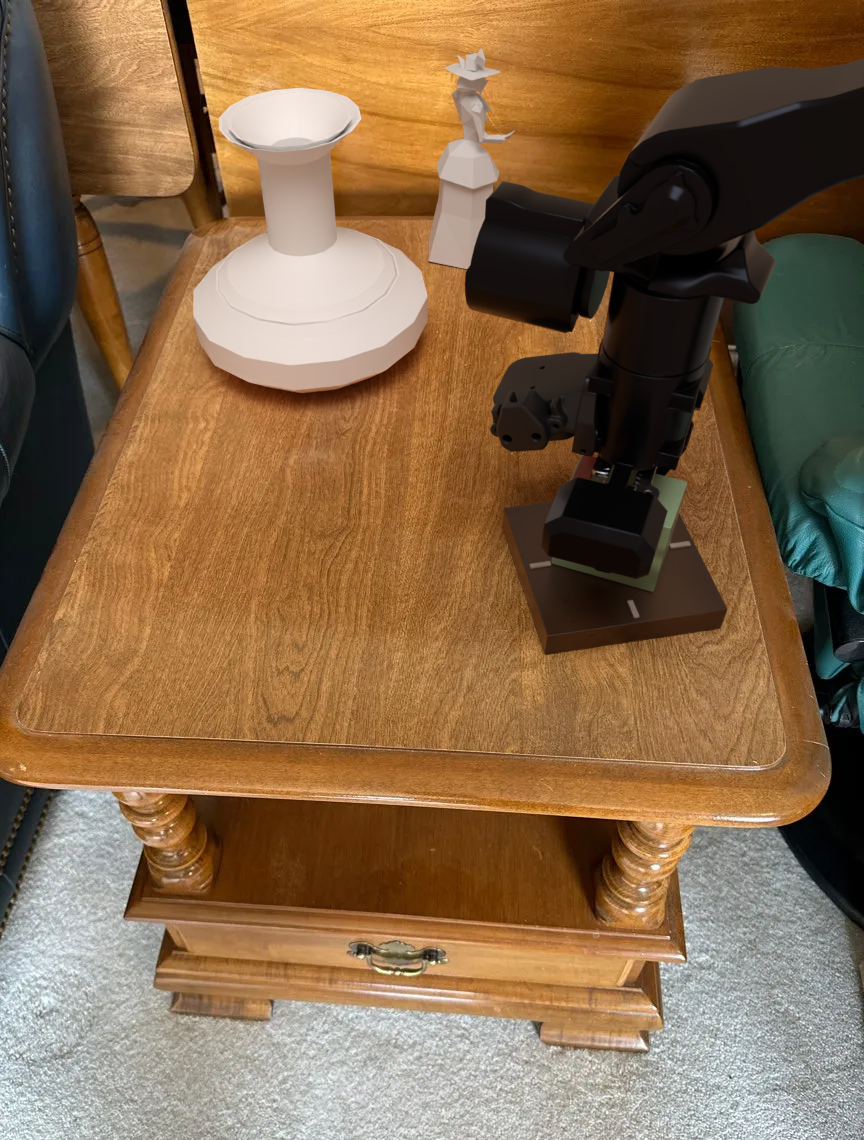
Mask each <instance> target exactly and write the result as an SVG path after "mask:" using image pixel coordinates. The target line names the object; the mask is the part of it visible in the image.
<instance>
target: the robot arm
mask: <svg viewBox="0 0 864 1140" xmlns="http://www.w3.org/2000/svg"><path fill="white" fill-rule="evenodd" d="M860 178H864V57H863V58H860V59H856V60H854V61H851V62H848V63H843V64H838V65H830V66H825V67H819V68H802V67H785V66H766V67H762V68H755V69H748V70H742V71H737V72H730V73H724V74H718V75H712V76H708V77H707V76H706V77H702V78H698V79H695V80H693V81H691V82H689V83H687V84H686V85H684V86H682V87H680V88H678V89H677V90H676V91H675V92H674V93H673V94H671V95H670V97H668V98H667V100H666V102H665V103H664V104H663V105H662V106H661V108H660V109H659V111H658V112H657V113H656V115H655V116H654V118H653V119H652V120H651V122H650V124H649V125H648V126H647V127H646V129H645V131H644V132H643V133H642V135H641V136H640V138H639V139H638V141H637V142H636V143H635V145H634V146H633V147H632V149H631V151H630V152H629V153H628V155H627V157H626V159H625V161H624V163H623V165H622V167H621V170H620V171H619V175H618V174H616V175H614V176H613V177H612V178H611V180H610V182H609V183H608V184H607V186H606V187H605V188H604V190H603V191H602V192H601V194H600V196H599V197H598V199H597V200H596V201H595V202H589V201H585V200H584V201H583V200H579V199H573V198H568V197H563V196H559V195H555V194H549V193H544V192H540V191H536V190H534V189H532V188H530V187H527V186H525V185H522V184H519V183H515V182H509V181H504V180H503V181H501V182H500V183H499V184H498V185H497V187H495V188H494V189H493V192H492V193H491V195H490V196H489V197H488V198H487V199H486V206H485V219H484V221H483V224H482V226H481V228H480V231H479V233H478V237H477V240H476V243H475V246H474V250H473V255H472V259H471V265H470V266H469V267H468V269H466V270H465V275H464V295H465V296H464V297H465V302H466V305H467V307H468V309H469V310H471V311H473V312H478V313H481V314H486V315H490V316H494V317H498V318H502V319H505V320H510V321H514V322H518V323H521V324H526V325H530V326H534V327H538V328H542V329H546V330H551V331H554V332H559V333H563V334H567V333H573V331H574V329H575V326H576V324H577V321H578V320H579V317H580V318H583V319H588V320H592V319H593V318H594V317H595V315H596V314H597V312H598V311H599V309H600V306H601V304H602V300H603V298H604V296H605V293H606V289H607V287H608V282H609V279H610V274H611V273H613V274H612V275H613V276H612V281H611V287H610V292H609V299H608V304H607V309H606V316H605V323H604V329H603V335H602V338H601V340H600V343H599V346H598V352H597V353H580V352H576V351H572V352H571V351H570V352H562V353H561V352H560V353H553V354H544V355H543V354H542V355H535V356H534V355H533V356H526V357H521V358H519V359H517V360H514V361H513V362H512V363H510V364H509V366H508V367H507V368H506V370H505V372H504V374H503V376H502V378H501V379H500V381H499V383H498V385H497V387H496V390H495V391H494V393H493V395H492V402H493V406H492V408H491V410H490V413H491V416H492V423H491V425H490V428H489V431H490V434H491V435H492V436H493V437H495V438H498V439H499V442H500V445H501V448H504V449H505V450H507V451H508V452H510V453H511V452H512V453H515V452H516V453H517V452H535V451H544V450H545V448H546V447H547V446H548V445H549V443H550V442H560V441H566V440H570V439H572V438H573V440H572V446H571V453H572V454H577V455H580V456H581V455H585V456H589V457H592V456H595V453H597V456H596V457H597V459H596V461H595V464H594V466H593V470H592V474H593V475H595V476H599V477H609V473H610V471H611V469H612V465H614V466H615V467H614V470H613V472H612V475H611V478H610V480H609V481H608V480H604V482H603V483H600V482H596V481H592V480H588V479H583V478H579V477H577V478H575V479H573V480H570V479H569V480H570V481H569V480H568V481H566V482H564V483H562V484H560V485H559V487H558V490H557V492H556V494H555V496H554V499H553V500H552V501H553V504H552V506H551V509H550V511H549V513H548V516H547V518H546V521H545V523H544V528H543V535H542V543H541V548H542V549H543V550H544V552H545V553H546V554H547V556H549V557H553V558H557V559H561V560H565V561H569V562H573V563H576V564H580V565H584V566H588V567H592V568H594V569H595V570H597V571H601V572H604V573H615V574H619V575H623V576H627V577H630V578H634V579H638V578H641V577H644V576H646V575H649V572H650V569H651V566H652V563H653V559H654V556H655V553H656V550H657V546H658V543H659V540H660V536H661V533H662V530H663V526H664V523H665V519H666V515H667V512H668V511H667V510H666V508H665V507H664V506H663V505H662V504H661V502H660V501H659V499H660V495H661V493H660V490H659V489H658V488H657V487H655V486H653V484H652V482H653V479H654V476H655V474H659V475H663V476H667V475H668V473H669V472H670V471H677V468H678V465H679V462H680V458H681V457H682V456H683V455H684V453H685V452H686V450H687V449H688V446H689V442H690V439H691V437H692V434H693V430H694V427H695V424H694V421H693V417H694V414H695V411H698V412H700V411H701V408H702V405H703V401H704V398H705V395H706V392H707V389H708V385H709V381H710V378H711V374H712V370H713V367H714V363H713V361H712V360H711V359H710V356H711V352H712V348H713V347H712V343H713V339H714V336H715V333H716V329H717V325H718V321H719V318H720V314H721V311H722V306H723V303H724V299H725V300H731V301H735V302H740V303H744V304H748V305H754V304H757V303H758V302H759V301H760V300H761V298H762V296H763V295H764V291H765V289H766V287H767V285H768V282H769V280H770V278H771V276H772V273H773V271H774V269H775V267H776V259H775V258H774V257H773V256H772V255H771V253H770V252H769V251H768V250H767V249H766V248H765V247H764V245H762V244H761V243H760V242H759V241H758V239H757V237H756V234H755V233H756V232H755V231H756V230H758V229H761V228H762V227H764V226H767V225H768V224H770V223H771V222H773V221H775V220H776V219H778V218H780V217H781V216H782V215H784V214H786V213H788V212H789V211H791V210H793V209H794V208H796V207H797V206H799V205H800V204H802V203H804V202H805V201H807V200H809V199H810V198H812V197H813V196H815V195H817V194H820V193H822V192H824V191H827V190H830V189H831V188H834V187H836V186H838V185H840V184H843V183H845V182H850V181H854V180H857V179H860ZM634 470H638V472H637V474H636V477H635V481H634V483H633V486H635V487H633V486H629V483H630V480H631V477H632V474H633V471H634ZM636 487H637V489H636Z"/></svg>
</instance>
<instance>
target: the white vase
mask: <svg viewBox="0 0 864 1140" xmlns="http://www.w3.org/2000/svg"><path fill="white" fill-rule="evenodd" d="M361 120H362V115H361V111H360V106H358V104H357V103H355V102H354V101H353V100H352V99H350V98H349V97H348V96H346V95H342V94H339V93H336V92H333V91H330V90H327V89H317V88H307V87H295V88H294V87H293V88H283V89H281V88H280V89H272V90H268V91H264V92H260V93H256V94H252V95H248V96H246V97H244V98H242V99H241V100H238V101H237V102H235V103H233V104H231V105H229V106H228V107H227V108H226V110H224V112H223V113H221V115H220V116H219V117H218V131H219V132H220V133H221V134H222V135H223V136H224V137H225V139H227V141H228V142H230V143H232V144H234V145H235V146H237V147H239V148H240V149H242V150H244V151H246V152H248V153H249V154H251V155H253V156H254V157H256V159H257V166H258V172H259V181H260V187H261V188H260V189H261V194H262V201H263V203H262V204H263V209H264V215H265V217H264V218H265V223H266V230H267V232H264V233H261V234H258V235H257V236H254V237H252V238H250V239H249V240H248V241H246V242H244V243H243V244H241V245H239V246H238V247H237V248H235V249H234V250H232V251H231V252H229V253H228V254H227V255H226V256H225V257H224V258H223V259H221V260H219V261H218V262H216V263H215V264H213V266H212V267H210V269H209V270H208V272H206V274H205V275H204V276H203V278H201V281H200V282H199V283H198V284H197V285H196V287H195V288H194V289H193V295H192V296H193V298H192V299H193V301H192V302H193V303H192V315H193V316H192V318H193V322H194V327H195V331H196V335H197V341H198V342H199V344H200V345H201V348H202V349H203V350H204V352H205V354H207V356H208V358H209V359H210V362H212V364H213V365H214V366H215V367H217V368H219V369H221V370H223V371H225V372H227V373H229V374H231V375H233V376H235V377H237V378H239V379H241V380H244V381H245V382H248V383H250V384H254V385H257V386H258V385H259V386H262V387H266V388H269V389H270V388H271V389H277V390H282V391H287V392H293V393H299V394H304V393H305V394H306V393H317V392H324V391H334V390H339V389H342V388H344V387H347V386H350V385H354V384H358V383H360V382H362V381H365V380H369V379H370V378H372V377H375V376H377V375H379V374H381V373H383V372H385V371H387V370H388V369H389V368H391V367H392V366H393V365H394V364H396V363H397V362H399V360H401V359H402V358H403V357H404V356H406V355H407V354H408V353H409V352H411V351H412V350H413V349H414V348H415V347H416V345H417V343H418V341H419V339H420V337H421V335H422V333H423V331H424V329H425V327H426V326H427V323H428V320H429V317H428V316H429V315H428V313H429V312H428V311H429V310H428V307H429V306H428V305H429V303H428V300H429V298H428V291H427V288H426V284H425V281H424V276H423V273H422V270H421V269H420V268H419V267H418V266H417V265H416V264H415V263H414V262H413V261H412V260H411V259H410V258H409V257H408V256H407V255H406V254H405V253H404V252H403V251H402V250H401V249H399V248H397V247H394V246H392V245H390V244H388V243H386V242H384V241H383V240H381V239H379V238H377V237H374V236H372V235H368V234H366V233H364V232H361V231H359V230H356V229H353V228H348V227H343V226H337V223H336V222H337V220H336V208H335V207H336V206H335V196H334V183H333V172H332V171H333V170H332V157H331V150H333V149H334V148H335V147H336V146H337V145H339V143H341V142H342V141H343V140H344V139H345V138H346V137H347V136H348V135H350V134H351V133H352V132H353V131H354V130H355V128H356V127H357V126H358V124H360V122H361Z"/></svg>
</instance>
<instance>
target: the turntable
mask: <svg viewBox="0 0 864 1140" xmlns="http://www.w3.org/2000/svg"><path fill="white" fill-rule="evenodd" d="M553 501H554V500H549V501H541V502H534V503H527V504H520V505H512V506H506V507H505V506H504V507H503V513H502V514H503V515H502V525H501V526H502V527H501V528H502V530H503V533H504V536H505V540H506V543H507V545H508V548H509V551H510V554H511V557H512V560H513V564H514V567H515V569H516V573H517V576H518V578H519V582H520V584H521V586H522V587H521V588H522V591H523V594H524V597H525V600H526V603H527V606H528V608H529V612H530V615H531V618H532V620H533V621H532V622H533V624H534V626H535V630H536V633H537V636H538V639H539V642H540V645H541V648H542V651H543V653H544V655H546V656H547V655H553V654H557V653H566V652H572V651H578V650H585V649H591V648H592V649H593V648H599V647H605V646H613V645H619V644H625V643H626V644H627V643H631V642H639V641H644V640H645V641H646V640H652V639H658V638H664V637H665V638H666V637H672V636H678V635H686V634H691V633H698V632H699V633H700V632H704V631H711V630H712V631H713V630H718V629H721V628H722V626H723V622H724V620H725V618H726V616H727V615H726V614H727V612H728V607H727V605H726V603H725V602H724V599H723V597H722V595H721V593H720V591H719V589H718V588H717V585H716V583H715V581H714V580H713V577H712V575H711V574H710V571H709V568H708V567H707V565H706V563H705V561H704V559H703V557H702V555H701V554H700V551H699V549H698V547H697V545H696V543H695V542H694V539H693V537H692V535H691V534H690V533H691V532H689V529H688V527H687V525H686V523H685V522H684V519H683V517H682V516H681V513H680V512H679V515H678V518H677V522H676V525H675V529H674V532H673V536H672V539H671V543H670V546H669V549H668V552H667V555H666V558H665V561H664V563H663V566H662V569H661V572H660V575H659V578H658V581H657V583H656V586H655V589H654V591H653V592H650V591H647V590H643V589H640V588H636V587H633V586H629V585H626V584H622V583H619V582H615V581H612V580H608V579H605V578H601V577H598V576H594V575H591V574H587V573H584V572H580V571H577V570H573V569H570V568H566V567H563V566H559V565H556V564H552V562H551V561H552V557H549V556H547V554H546V553H545V552H544V550H543V549H542V548H541V543H542V535H543V528H544V523H545V521H546V518H547V516H548V513H549V511H550V509H551V506H552V504H553Z"/></svg>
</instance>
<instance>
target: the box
mask: <svg viewBox="0 0 864 1140" xmlns="http://www.w3.org/2000/svg"><path fill="white" fill-rule="evenodd" d="M596 459H597V456H595V455H593V456H592V457H589V456H585V455H580V457H579V459H578V461H577V463H576V465H575V467H574V469H573V471H572V474H571V475H570V478H569V480H568V481H570V480H573V479H575V478H577V477H579V478H583V479H588V480H592V481H596V482H600V483H603V482H604V480H608V481H609V480H610V478H611V475H612V472H613V470H614V467H615V466H614V465H612V469H611V471H610V473H609V477H599V476H595V475H593V474H592V470H593V466H594V464H595V461H596ZM637 472H638V470H634V471H633V474H632V477H631V480H630V483H629V486H633V483H634V481H635V477H636V474H637ZM652 484H653V486H655V487H657V488H658V489H659V490H660V493H661V495H660V499H659V501H660V502H661V504H662V505H663V506H664V507H665V508H666V510H667V511H668V512H667V515H666V519H665V523H664V526H663V530H662V533H661V536H660V540H659V543H658V546H657V550H656V553H655V556H654V559H653V563H652V566H651V569H650V572H649V575H646V576H644V577H641V578H638V579H634V578H630V577H627V576H623V575H619V574H615V573H604V572H601V571H597V570H595V569H594V568H592V567H588V566H584V565H580V564H576V563H573V562H569V561H565V560H561V559H557V558H553V557H552V561H551V562H552V564H556V565H559V566H563V567H566V568H570V569H573V570H577V571H580V572H584V573H587V574H591V575H594V576H598V577H601V578H605V579H608V580H612V581H615V582H619V583H622V584H626V585H629V586H633V587H636V588H640V589H643V590H647V591H650V592H653V591H654V589H655V586H656V583H657V581H658V578H659V575H660V572H661V569H662V566H663V563H664V561H665V558H666V555H667V552H668V549H669V546H670V543H671V539H672V536H673V532H674V529H675V525H676V522H677V518H678V515H679V513H680V511H681V509H682V504H683V501H684V497H685V494H686V490H687V487H688V481H687V480H683V479H679V478H674V477H670V476H667V475H666V476H663V475H659V474H655V476H654V479H653V482H652ZM633 487H635V486H633ZM636 489H637V487H636Z"/></svg>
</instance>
